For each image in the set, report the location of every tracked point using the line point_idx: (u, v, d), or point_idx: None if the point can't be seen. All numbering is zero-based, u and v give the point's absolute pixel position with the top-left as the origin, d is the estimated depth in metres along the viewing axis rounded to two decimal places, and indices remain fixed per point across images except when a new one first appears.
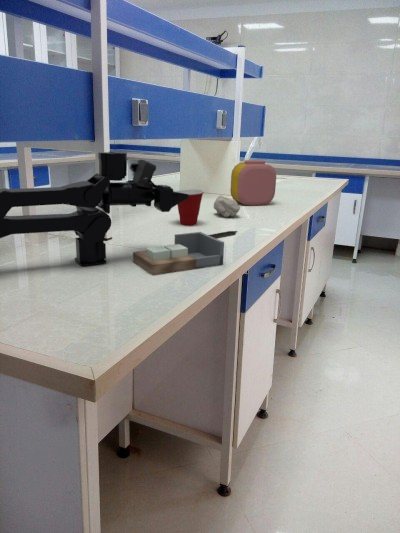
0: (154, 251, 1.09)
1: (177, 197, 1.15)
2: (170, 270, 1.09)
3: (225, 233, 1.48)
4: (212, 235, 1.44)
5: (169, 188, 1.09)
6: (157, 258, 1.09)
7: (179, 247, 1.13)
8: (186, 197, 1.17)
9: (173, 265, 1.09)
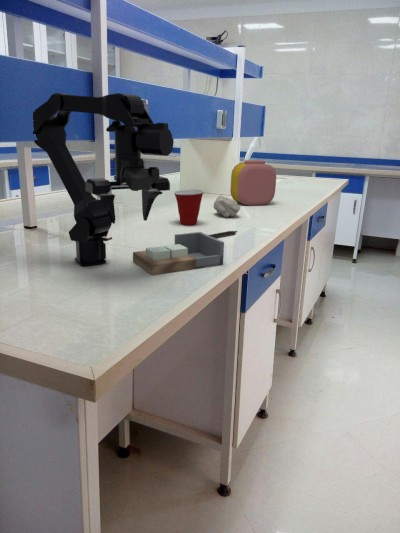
0: (154, 251, 1.09)
1: (107, 207, 1.02)
2: (170, 270, 1.09)
3: (225, 233, 1.48)
4: (212, 235, 1.44)
5: (94, 192, 0.96)
6: (157, 258, 1.09)
7: (179, 247, 1.13)
8: (111, 220, 1.03)
9: (173, 265, 1.09)
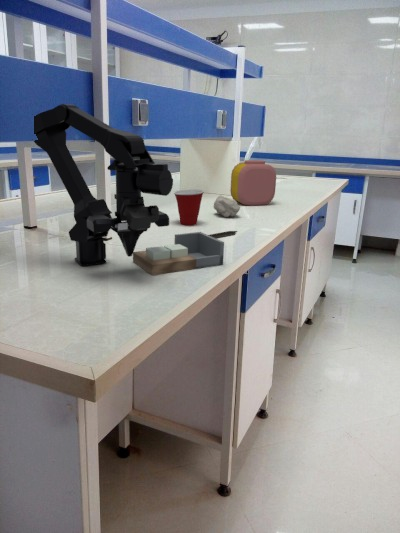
0: (154, 251, 1.09)
1: (123, 241, 1.06)
2: (170, 270, 1.09)
3: (225, 233, 1.48)
4: (212, 235, 1.44)
5: (95, 230, 0.99)
6: (157, 258, 1.09)
7: (179, 247, 1.13)
8: (126, 253, 1.08)
9: (173, 265, 1.09)
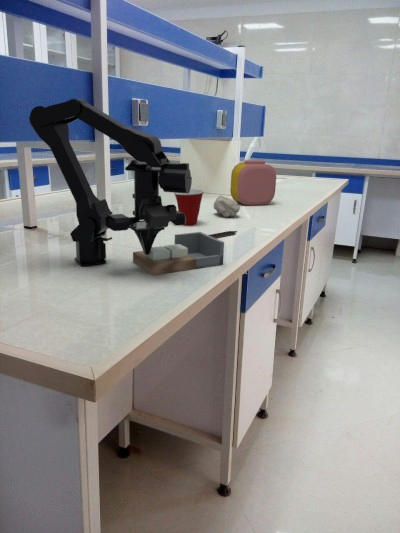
0: (154, 251, 1.09)
1: (141, 240, 1.08)
2: (170, 270, 1.09)
3: (225, 233, 1.48)
4: (212, 235, 1.44)
5: (114, 229, 1.01)
6: (157, 258, 1.10)
7: (179, 247, 1.13)
8: (144, 251, 1.10)
9: (173, 265, 1.09)
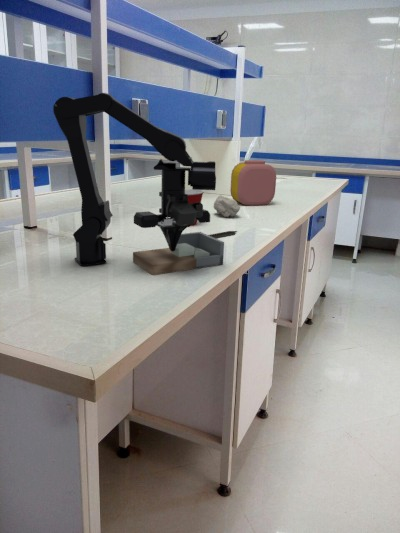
0: (179, 248, 1.13)
1: (167, 236, 1.12)
2: (170, 270, 1.09)
3: (225, 233, 1.48)
4: (212, 235, 1.44)
5: (143, 226, 1.04)
6: (182, 255, 1.13)
7: (202, 251, 1.17)
8: (170, 248, 1.13)
9: (173, 265, 1.09)
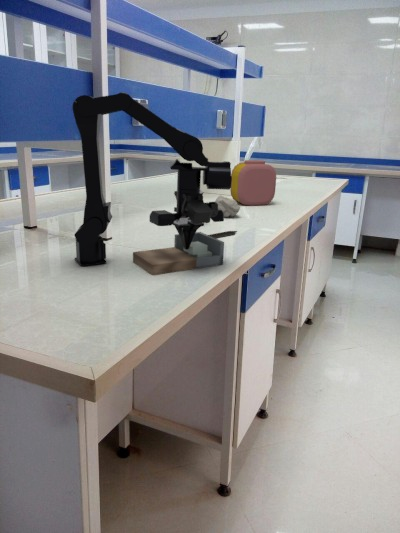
0: (193, 246, 1.15)
1: (182, 235, 1.14)
2: (170, 270, 1.09)
3: (225, 233, 1.48)
4: (212, 235, 1.44)
5: (159, 224, 1.07)
6: (196, 253, 1.15)
7: None
8: (184, 246, 1.15)
9: (173, 265, 1.09)
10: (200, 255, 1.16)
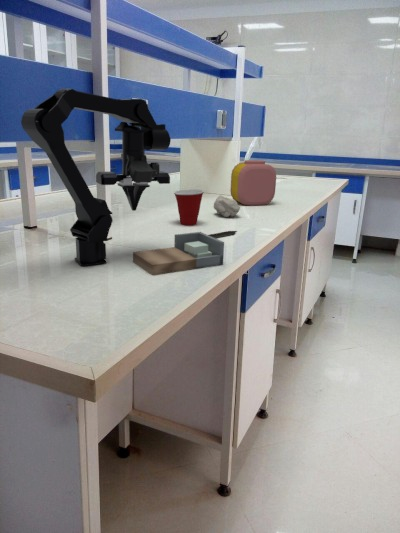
0: (194, 246, 1.15)
1: (128, 196, 1.19)
2: (170, 270, 1.09)
3: (225, 233, 1.48)
4: (212, 235, 1.44)
5: (102, 183, 1.12)
6: (197, 252, 1.15)
7: None
8: (131, 207, 1.20)
9: (173, 265, 1.09)
10: (200, 255, 1.16)
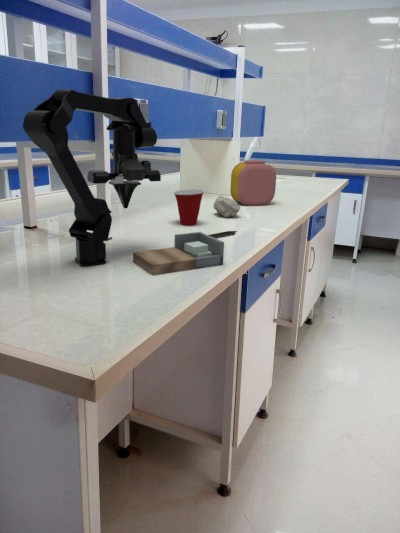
0: (194, 246, 1.15)
1: (120, 194, 1.20)
2: (170, 270, 1.09)
3: (224, 233, 1.48)
4: (211, 235, 1.44)
5: (94, 181, 1.12)
6: (197, 252, 1.15)
7: None
8: (122, 205, 1.21)
9: (173, 265, 1.09)
10: (200, 255, 1.16)
